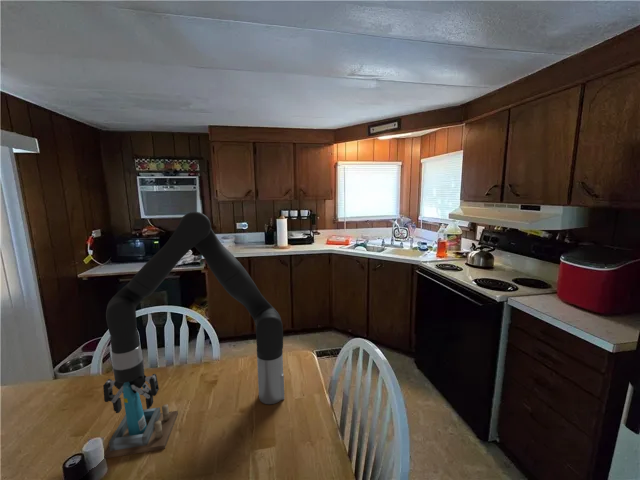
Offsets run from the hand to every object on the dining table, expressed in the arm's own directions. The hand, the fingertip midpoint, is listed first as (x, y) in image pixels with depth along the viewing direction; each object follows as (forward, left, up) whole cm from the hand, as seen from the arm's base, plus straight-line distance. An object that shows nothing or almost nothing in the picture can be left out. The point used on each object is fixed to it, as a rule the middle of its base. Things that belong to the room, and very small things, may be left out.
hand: (134, 409), depth 90 cm
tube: (0, 0, -8) cm, 8 cm away
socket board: (-2, 0, -9) cm, 10 cm away
